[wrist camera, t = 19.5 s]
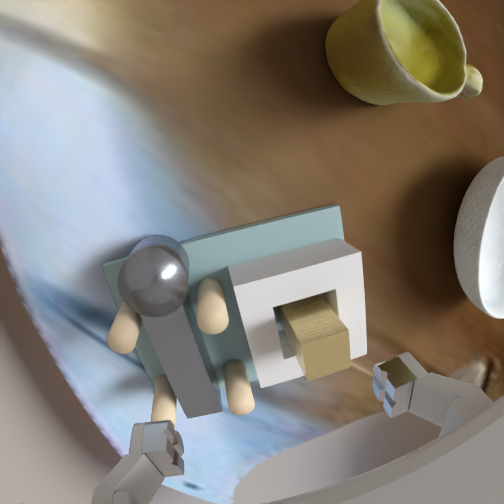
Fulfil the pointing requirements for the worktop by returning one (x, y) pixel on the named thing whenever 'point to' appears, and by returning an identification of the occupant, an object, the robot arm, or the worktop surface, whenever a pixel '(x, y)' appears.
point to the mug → (400, 53)
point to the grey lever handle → (171, 320)
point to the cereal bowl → (482, 240)
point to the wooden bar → (315, 336)
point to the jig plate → (215, 265)
